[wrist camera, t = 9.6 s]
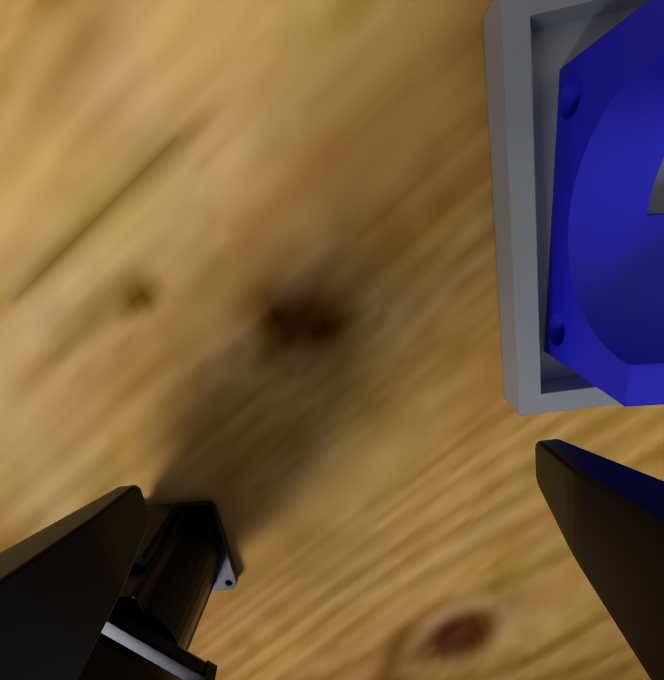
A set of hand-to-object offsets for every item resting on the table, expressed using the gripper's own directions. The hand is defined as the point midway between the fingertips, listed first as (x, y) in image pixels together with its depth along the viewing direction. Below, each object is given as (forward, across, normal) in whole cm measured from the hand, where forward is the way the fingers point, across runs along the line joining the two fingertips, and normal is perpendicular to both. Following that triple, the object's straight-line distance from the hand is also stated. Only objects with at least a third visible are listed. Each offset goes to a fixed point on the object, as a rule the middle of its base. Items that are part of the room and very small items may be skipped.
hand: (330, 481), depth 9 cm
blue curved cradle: (+11, -12, -4) cm, 17 cm away
